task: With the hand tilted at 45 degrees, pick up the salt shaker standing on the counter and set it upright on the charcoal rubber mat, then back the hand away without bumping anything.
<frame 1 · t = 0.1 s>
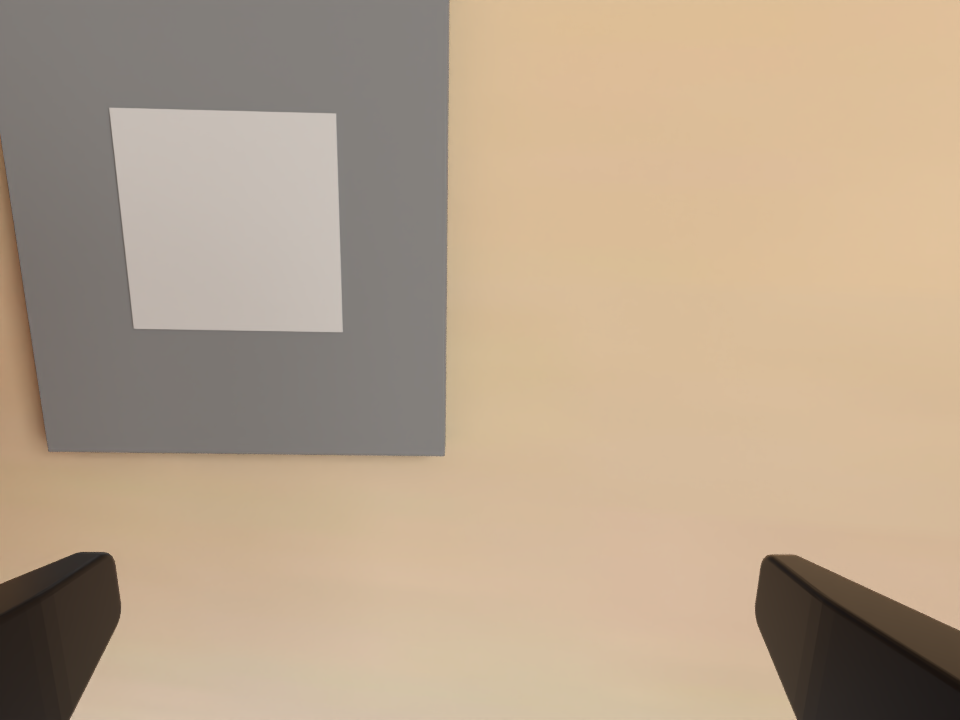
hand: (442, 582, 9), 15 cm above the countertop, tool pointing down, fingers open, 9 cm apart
mat: (242, 223, 22), on the countertop
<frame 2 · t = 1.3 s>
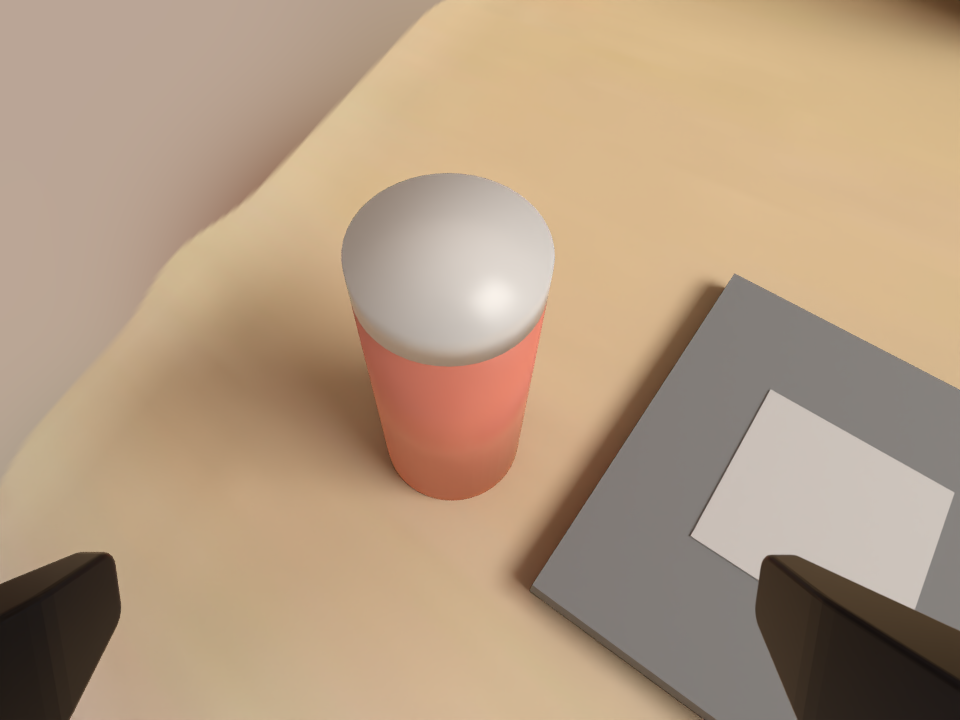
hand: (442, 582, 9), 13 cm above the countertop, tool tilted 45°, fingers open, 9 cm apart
mat: (811, 522, 23), on the countertop
salt shaker: (452, 436, 24), on the countertop
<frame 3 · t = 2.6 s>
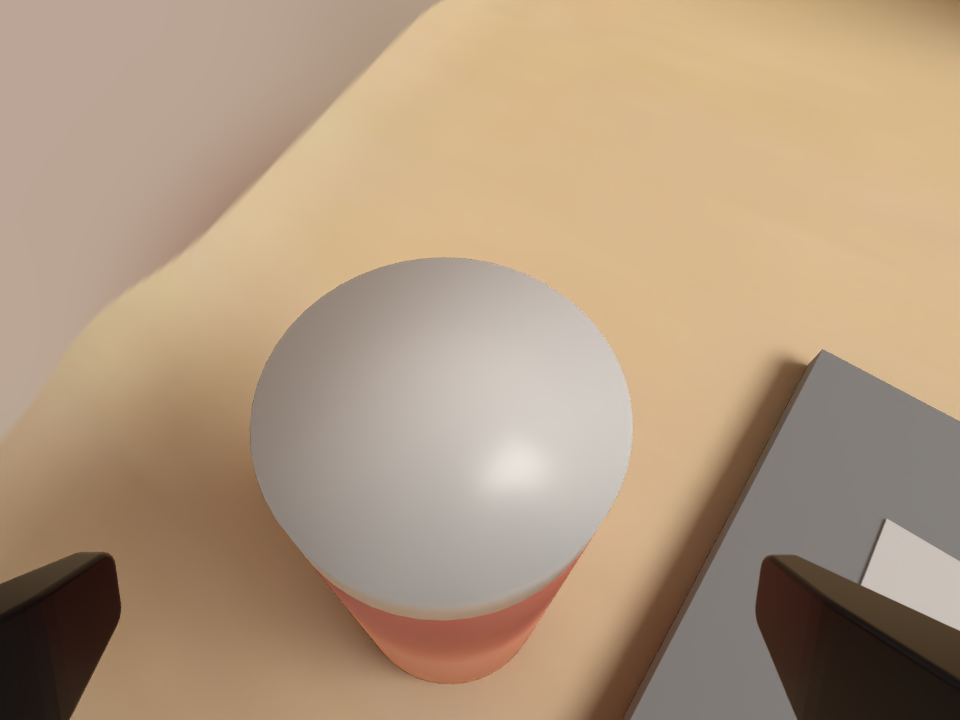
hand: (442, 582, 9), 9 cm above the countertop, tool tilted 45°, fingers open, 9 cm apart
mat: (955, 718, 16), on the countertop
salt shaker: (451, 584, 18), on the countertop
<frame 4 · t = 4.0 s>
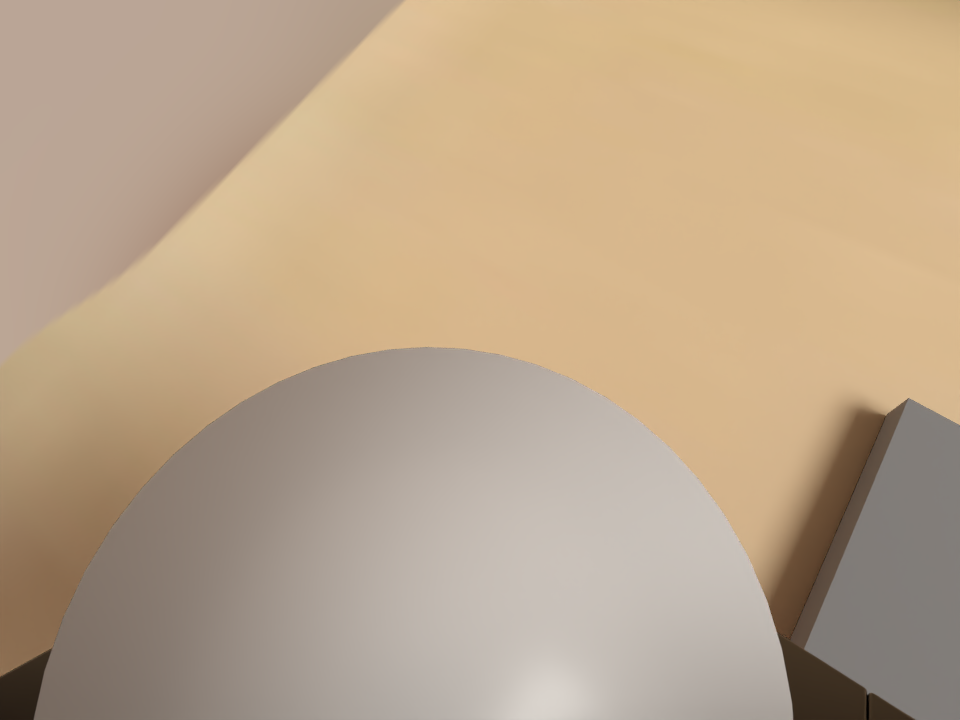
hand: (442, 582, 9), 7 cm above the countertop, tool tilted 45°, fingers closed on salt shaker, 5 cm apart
salt shaker: (447, 713, 14), on the countertop, touching gripper
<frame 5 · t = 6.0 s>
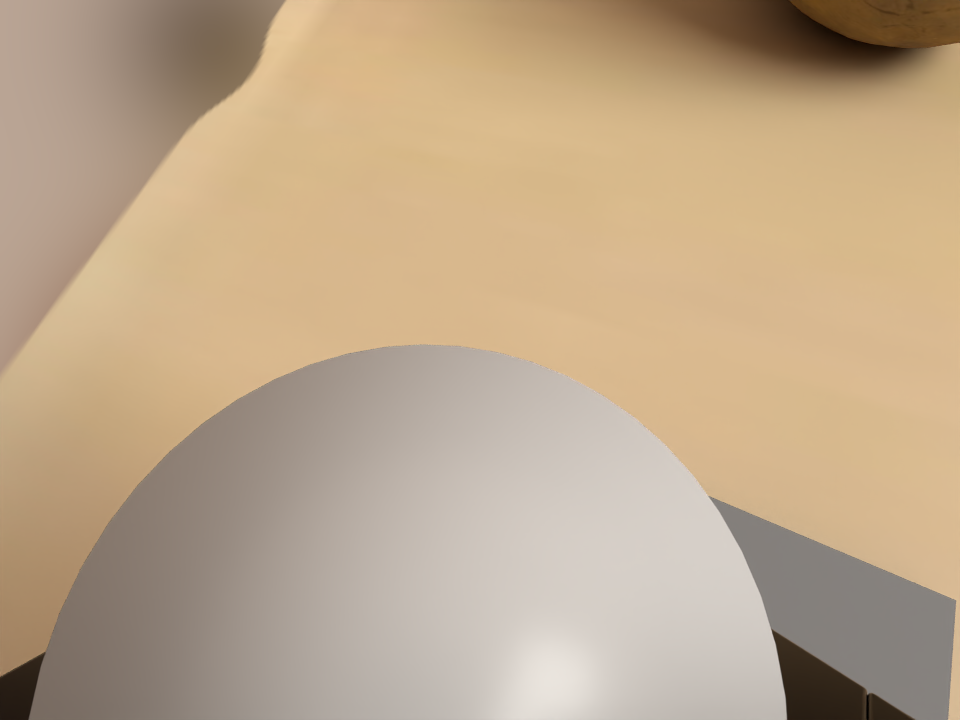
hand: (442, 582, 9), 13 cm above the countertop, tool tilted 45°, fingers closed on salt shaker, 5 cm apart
clay pot: (852, 20, 40), on the countertop
salt shaker: (445, 711, 14), point 7 cm above the countertop, touching gripper
when the fingers open (9 cm above the countertop, at t = 7.9 s): salt shaker drops 1 cm, resting on mat.
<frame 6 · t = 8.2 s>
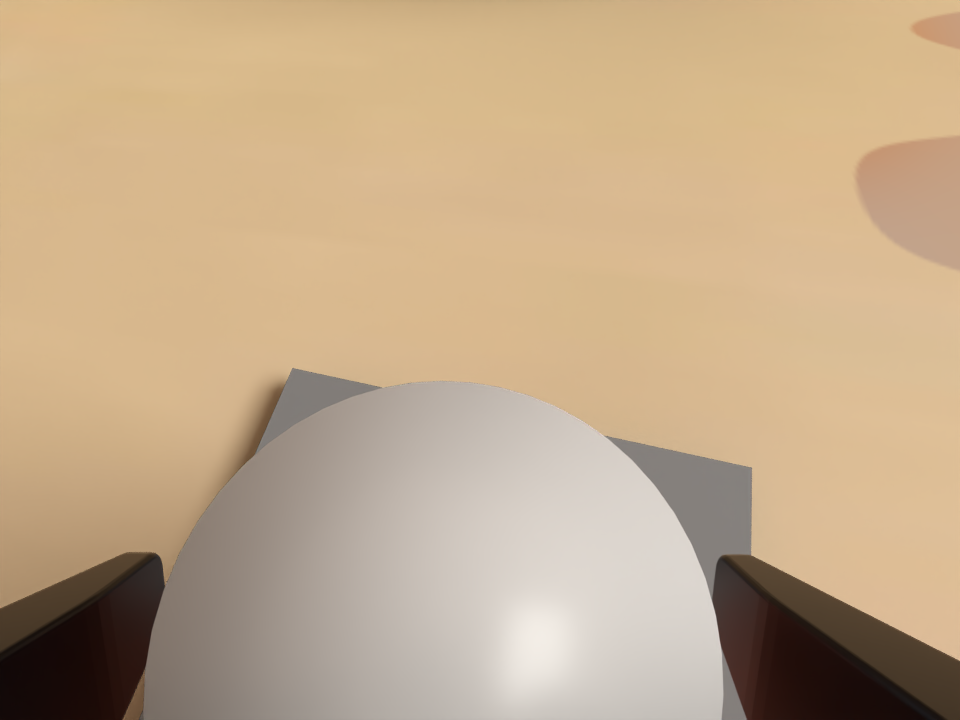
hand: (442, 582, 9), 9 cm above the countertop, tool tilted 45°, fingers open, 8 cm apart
mat: (449, 715, 16), on the countertop
salt shaker: (448, 716, 15), point 1 cm above the countertop, touching mat
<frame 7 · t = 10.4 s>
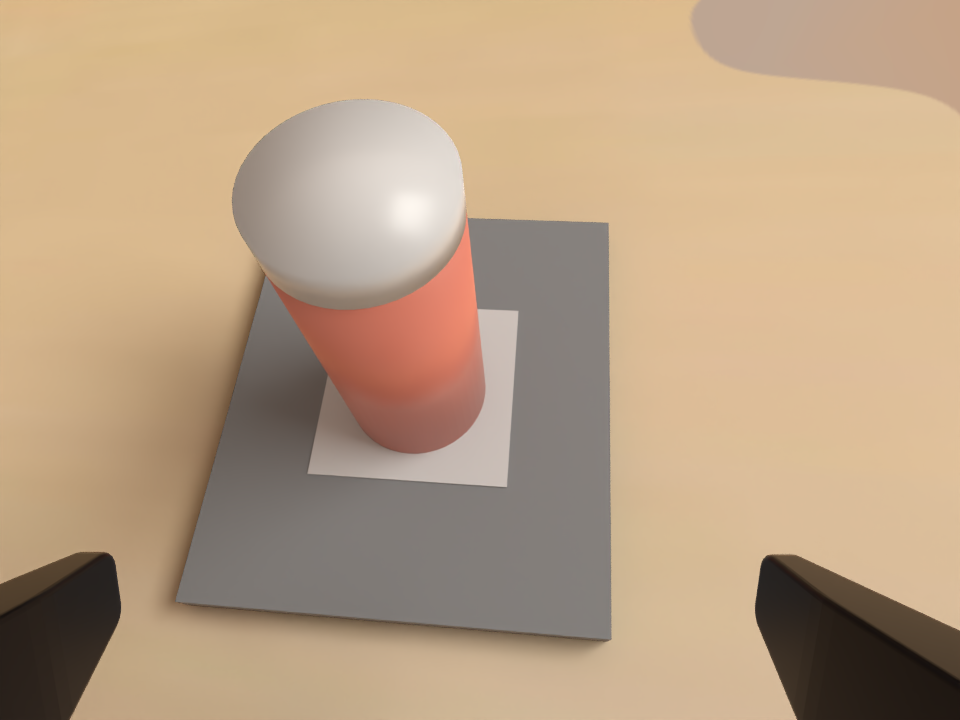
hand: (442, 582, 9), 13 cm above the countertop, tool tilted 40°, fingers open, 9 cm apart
mat: (422, 399, 25), on the countertop
salt shaker: (418, 388, 24), point 1 cm above the countertop, touching mat
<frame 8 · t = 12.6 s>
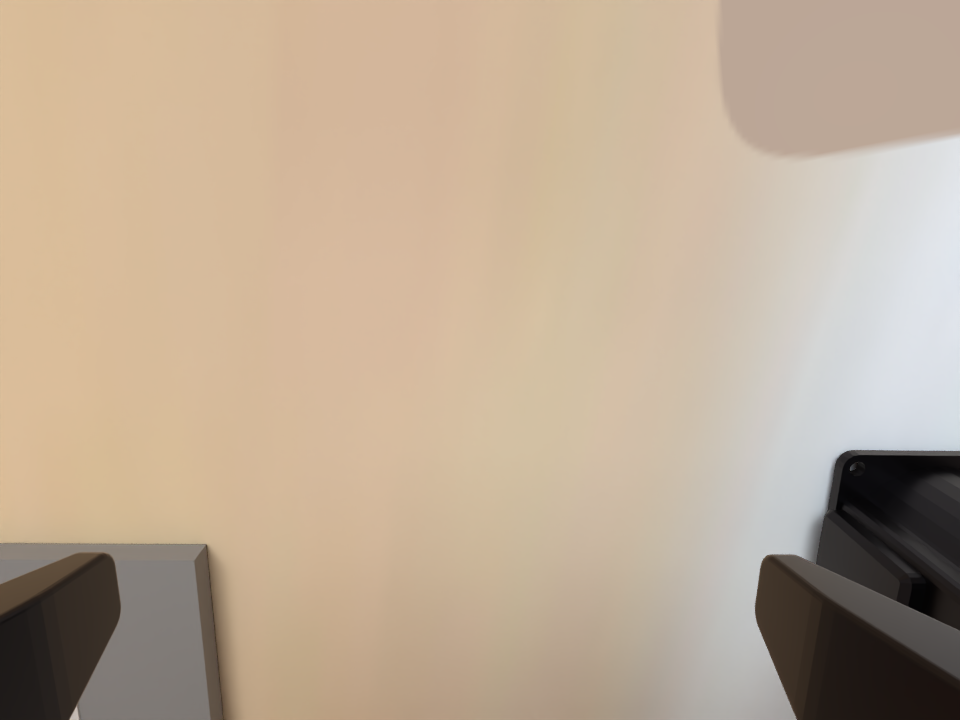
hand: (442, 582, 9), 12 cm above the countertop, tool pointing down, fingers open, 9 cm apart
mat: (2, 714, 23), on the countertop
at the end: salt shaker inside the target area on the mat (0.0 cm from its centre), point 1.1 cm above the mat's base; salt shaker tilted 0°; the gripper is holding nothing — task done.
